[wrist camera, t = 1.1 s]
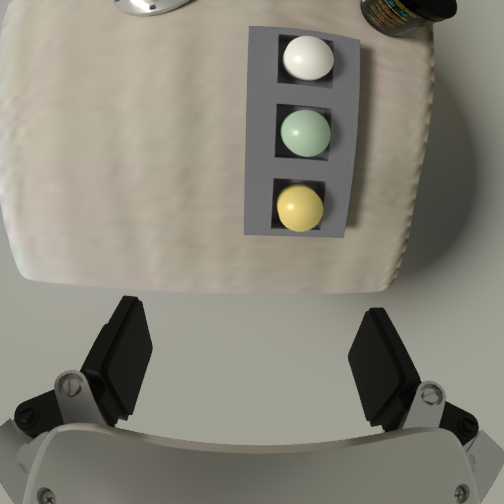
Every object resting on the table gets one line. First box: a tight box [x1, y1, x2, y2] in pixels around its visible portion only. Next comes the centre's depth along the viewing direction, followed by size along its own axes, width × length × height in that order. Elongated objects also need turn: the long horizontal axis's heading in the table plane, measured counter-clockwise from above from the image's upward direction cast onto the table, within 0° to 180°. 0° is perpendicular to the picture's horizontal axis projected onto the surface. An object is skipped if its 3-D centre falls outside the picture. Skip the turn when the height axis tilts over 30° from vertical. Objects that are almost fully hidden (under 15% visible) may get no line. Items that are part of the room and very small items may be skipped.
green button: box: [280, 110, 331, 157], centre depth 24 cm, size 4×4×2 cm
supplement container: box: [360, 0, 457, 36], centre depth 14 cm, size 7×7×10 cm
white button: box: [283, 36, 334, 82], centre depth 20 cm, size 4×4×2 cm
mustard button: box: [277, 183, 323, 232], centre depth 27 cm, size 4×4×2 cm
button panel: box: [244, 26, 360, 238], centre depth 25 cm, size 22×11×3 cm, turn 179°
